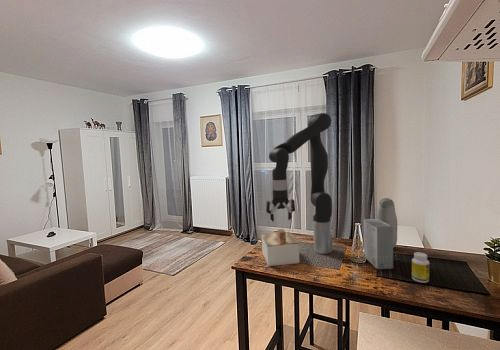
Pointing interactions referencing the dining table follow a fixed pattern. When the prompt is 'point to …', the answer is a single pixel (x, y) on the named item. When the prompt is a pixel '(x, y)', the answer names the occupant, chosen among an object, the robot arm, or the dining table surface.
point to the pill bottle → (420, 267)
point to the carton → (280, 254)
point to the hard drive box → (378, 243)
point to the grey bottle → (388, 216)
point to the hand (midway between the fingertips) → (281, 220)
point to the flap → (279, 238)
